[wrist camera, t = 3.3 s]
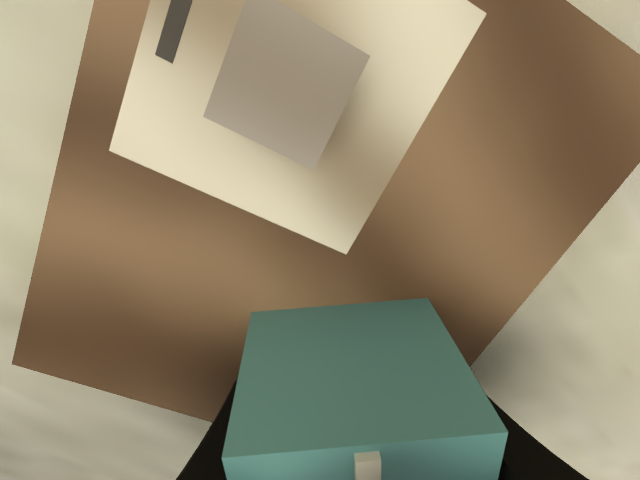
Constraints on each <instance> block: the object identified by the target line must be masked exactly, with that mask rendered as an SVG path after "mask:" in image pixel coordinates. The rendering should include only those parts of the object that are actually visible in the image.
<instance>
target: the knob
mask: <svg viewBox="0 0 640 480" xmlns="http://www.w3.org/2000/svg"><path fill="white" fill-rule="evenodd" d="M507 436H508V431H507V429H506V427H505V426H504V424H503V422H502V421H501V419H500V417H499V416H498V414H497V412H496V411H495V409H494V407H493V406H492V404H491V402H490V401H489V399H488V397H487V396H486V394H485V392H484V391H483V389H482V387H481V386H480V384H479V382H478V381H477V379H476V377H475V376H474V374H473V372H472V371H471V369H470V367H469V366H468V364H467V362H466V361H465V359H464V357H463V356H462V354H461V352H460V351H459V349H458V347H457V346H456V344H455V342H454V341H453V339H452V337H451V336H450V334H449V332H448V331H447V329H446V327H445V326H444V324H443V322H442V321H441V319H440V317H439V316H438V314H437V312H436V311H435V309H434V307H433V306H432V304H431V302H430V301H429V299H428V298H421V299H408V300H396V301H383V302H370V303H358V304H345V305H333V306H320V307H307V308H295V309H282V310H269V311H257V312H251V316H250V321H249V326H248V331H247V336H246V341H245V345H244V350H243V355H242V360H241V365H240V370H239V375H238V380H237V385H236V390H235V395H234V399H233V404H232V409H231V414H230V419H229V424H228V429H227V434H226V439H225V444H224V448H223V453H222V462H223V466H224V470H225V474H226V478H227V480H498V477H499V472H500V468H501V463H502V459H503V454H504V450H505V445H506V441H507Z"/></svg>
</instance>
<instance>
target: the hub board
mask: <svg viewBox="0 0 640 480" xmlns="http://www.w3.org/2000/svg"><path fill="white" fill-rule="evenodd" d="M639 163H640V55H639V54H638V53H637V52H635V51H634V50H632V49H631V48H630V47H628V46H627V45H626V44H624V43H623V42H622V41H620V40H619V39H618V38H616V37H615V36H613V35H612V34H611V33H609V32H608V31H607V30H605V29H604V28H603V27H601V26H600V25H598V24H597V23H596V22H594V21H593V20H592V19H590V18H589V17H588V16H586V15H585V14H584V13H582V12H581V11H579V10H578V9H577V8H575V7H574V6H573V5H571V4H570V3H569V2H567V1H566V0H94V4H93V9H92V13H91V17H90V22H89V26H88V31H87V35H86V39H85V44H84V48H83V53H82V57H81V61H80V66H79V70H78V75H77V79H76V83H75V88H74V92H73V97H72V101H71V105H70V110H69V114H68V119H67V123H66V128H65V132H64V136H63V141H62V145H61V150H60V154H59V158H58V163H57V167H56V172H55V176H54V180H53V185H52V189H51V194H50V198H49V202H48V207H47V211H46V216H45V220H44V224H43V229H42V233H41V238H40V242H39V246H38V251H37V255H36V260H35V264H34V269H33V273H32V277H31V282H30V286H29V291H28V295H27V299H26V304H25V308H24V313H23V317H22V321H21V326H20V330H19V335H18V339H17V343H16V348H15V352H14V357H13V361H12V364H13V365H17V366H20V367H24V368H27V369H31V370H34V371H38V372H41V373H44V374H48V375H51V376H55V377H58V378H62V379H65V380H69V381H72V382H76V383H79V384H82V385H86V386H89V387H93V388H96V389H100V390H103V391H107V392H110V393H113V394H117V395H120V396H124V397H127V398H131V399H134V400H138V401H141V402H145V403H148V404H151V405H155V406H158V407H162V408H165V409H169V410H172V411H176V412H179V413H182V414H186V415H189V416H193V417H196V418H200V419H203V420H207V421H210V422H213V421H214V420H215V418H216V416H217V414H218V413H219V411H220V409H221V407H222V405H223V404H224V402H225V400H226V398H227V396H228V394H229V392H230V390H231V388H232V386H233V384H234V382H235V381H236V380H237V379H238V375H239V370H240V365H241V360H242V355H243V350H244V345H245V341H246V336H247V331H248V326H249V321H250V316H251V312H257V311H269V310H282V309H295V308H307V307H320V306H333V305H345V304H358V303H370V302H383V301H396V300H408V299H421V298H428V299H429V301H430V302H431V304H432V306H433V307H434V309H435V311H436V312H437V314H438V316H439V317H440V319H441V321H442V322H443V324H444V326H445V327H446V329H447V331H448V332H449V334H450V336H451V337H452V339H453V341H454V342H455V344H456V346H457V347H458V349H459V351H460V352H461V354H462V356H463V357H464V359H465V361H466V362H467V364H468V366H469V367H470V366H471V365H472V363H473V362H474V361H475V360H476V359H477V357H478V356H479V355H480V354H481V353H482V351H483V350H484V349H485V348H486V347H487V345H488V344H489V343H490V342H491V341H492V339H493V338H494V337H495V336H496V335H497V333H498V332H499V331H500V330H501V329H502V327H503V326H504V325H505V324H506V323H507V321H508V320H509V319H510V318H511V317H512V315H513V314H514V313H515V312H516V311H517V309H518V308H519V307H520V306H521V304H522V303H523V302H524V301H525V300H526V298H527V297H528V296H529V295H530V294H531V292H532V291H533V290H534V289H535V288H536V286H537V285H538V284H539V283H540V282H541V280H542V279H543V278H544V277H545V276H546V274H547V273H548V272H549V271H550V270H551V268H552V267H553V266H554V265H555V264H556V262H557V261H558V260H559V259H560V258H561V256H562V255H563V254H564V253H565V252H566V250H567V249H568V248H569V247H570V246H571V244H572V243H573V242H574V241H575V240H576V238H577V237H578V236H579V235H580V233H581V232H582V231H583V230H584V229H585V227H586V226H587V225H588V224H589V223H590V221H591V220H592V219H593V218H594V217H595V215H596V214H597V213H598V212H599V211H600V209H601V208H602V207H603V206H604V205H605V203H606V202H607V201H608V200H609V199H610V197H611V196H612V195H613V194H614V193H615V191H616V190H617V189H618V188H619V187H620V185H621V184H622V183H623V182H624V181H625V179H626V178H627V177H628V176H629V175H630V173H631V172H632V171H633V170H634V169H635V167H636V166H637V165H638V164H639Z"/></svg>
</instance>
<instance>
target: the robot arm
mask: <svg viewBox="0 0 640 480" xmlns="http://www.w3.org/2000/svg"><path fill="white" fill-rule="evenodd" d="M237 380H238V379H237ZM237 380H236V381H235V382H234V384H233V386H232V388H231V390H230V392H229V394H228V396H227V398H226V400H225V402H224V404H223V405H222V407H221V409H220V411H219V413H218V414H217V416H216V418H215V420H214V421H213V423H212V425H211V426H210V428H209V430H208V431H207V433H206V435H205V437H204V438H203V440H202V441H201V443H200V445H199V446H198V448H197V449H196V451H195V452H194V454H193V455H192V457H191V458H190V460H189V461H188V463H187V464H186V466H185V467H184V469H183V470H182V472H181V473H180V475H179V476H178V477H177V479H176V480H227V478H226V474H225V470H224V466H223V462H222V453H223V448H224V444H225V439H226V434H227V429H228V424H229V419H230V414H231V409H232V404H233V399H234V395H235V390H236V385H237ZM486 396H487V395H486ZM487 397H488V396H487ZM488 399H489V401H490V402H491V404H492V406H493V407H494V409H495V411H496V412H497V414H498V416H499V417H500V419H501V421H502V422H503V424H504V426H505V427H506V429H507V431H508V436H507V441H506V445H505V450H504V454H503V459H502V463H501V468H500V472H499V477H498V480H589V479H587V478H586V477H584V476H583V475H582V474H580V473H579V472H577V471H576V470H575V469H573V468H572V467H571V466H569V465H568V464H567V463H565V462H564V461H563V460H561V459H560V458H559V457H557V456H556V455H555V454H553V453H552V452H551V451H549V450H548V449H547V448H546V447H544V446H543V445H542V444H541V443H540V442H538V441H537V440H536V439H535V438H534V437H532V436H531V435H530V434H529V433H528V432H526V431H525V430H524V429H523V428H522V427H521V426H519V425H518V424H517V423H516V422H515V421H514V420H513V419H512V418H510V417H509V416H508V415H507V414H506V413H505V412H504V411H503V410H502V409H501V408H500V407H498V406H497V405H496V404H495V403H494V402H493V401H492V400H491V399H490V398H489V397H488Z"/></svg>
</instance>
